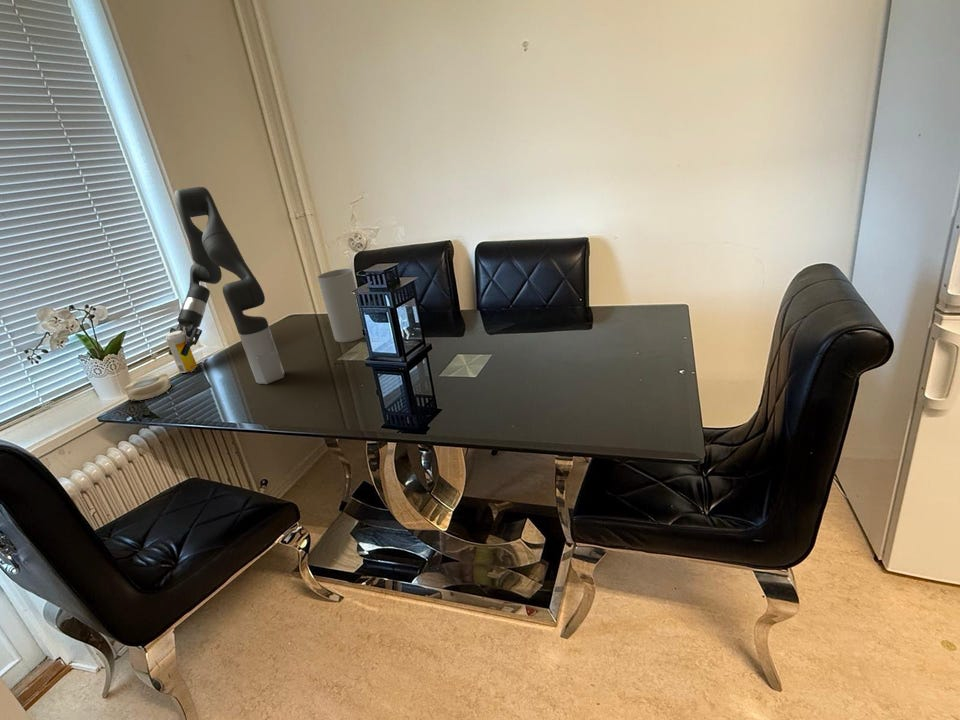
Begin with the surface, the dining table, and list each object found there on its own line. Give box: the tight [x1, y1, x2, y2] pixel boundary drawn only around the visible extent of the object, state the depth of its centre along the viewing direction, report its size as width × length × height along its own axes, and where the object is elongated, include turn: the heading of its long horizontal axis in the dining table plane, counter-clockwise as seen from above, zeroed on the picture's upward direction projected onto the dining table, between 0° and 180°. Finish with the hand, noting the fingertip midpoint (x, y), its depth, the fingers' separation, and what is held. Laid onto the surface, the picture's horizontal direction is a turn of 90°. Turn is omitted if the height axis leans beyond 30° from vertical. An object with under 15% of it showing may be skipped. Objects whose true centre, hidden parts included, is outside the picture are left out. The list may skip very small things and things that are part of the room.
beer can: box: [165, 331, 198, 374], centre depth 188 cm, size 6×6×15 cm
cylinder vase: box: [316, 268, 365, 344], centre depth 194 cm, size 12×12×25 cm
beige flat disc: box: [124, 373, 173, 401], centre depth 176 cm, size 13×13×4 cm
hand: (177, 355), depth 187 cm, fingers closed on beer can, 5 cm apart
